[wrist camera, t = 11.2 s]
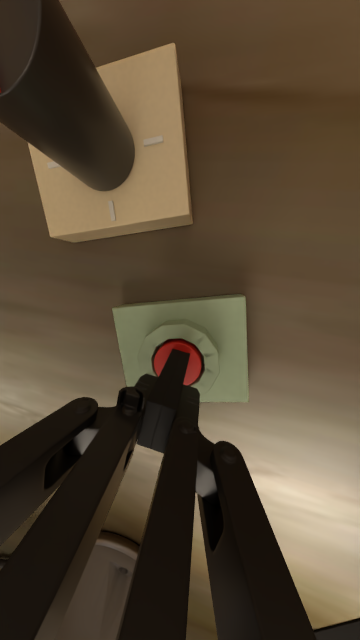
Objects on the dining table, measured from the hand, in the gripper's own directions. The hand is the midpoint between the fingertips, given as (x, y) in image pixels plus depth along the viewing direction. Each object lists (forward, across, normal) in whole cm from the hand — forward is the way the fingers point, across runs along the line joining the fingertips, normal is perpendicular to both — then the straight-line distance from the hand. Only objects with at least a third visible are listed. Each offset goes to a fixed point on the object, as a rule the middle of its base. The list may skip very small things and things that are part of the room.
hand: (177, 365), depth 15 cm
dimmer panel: (+5, -9, +14) cm, 18 cm away
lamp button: (+2, 0, 0) cm, 2 cm away
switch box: (+5, 0, 0) cm, 5 cm away
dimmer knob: (+1, -9, +14) cm, 17 cm away
